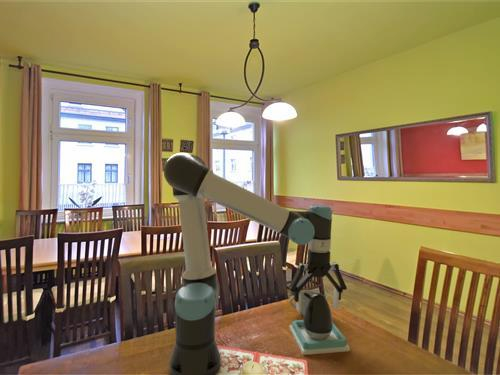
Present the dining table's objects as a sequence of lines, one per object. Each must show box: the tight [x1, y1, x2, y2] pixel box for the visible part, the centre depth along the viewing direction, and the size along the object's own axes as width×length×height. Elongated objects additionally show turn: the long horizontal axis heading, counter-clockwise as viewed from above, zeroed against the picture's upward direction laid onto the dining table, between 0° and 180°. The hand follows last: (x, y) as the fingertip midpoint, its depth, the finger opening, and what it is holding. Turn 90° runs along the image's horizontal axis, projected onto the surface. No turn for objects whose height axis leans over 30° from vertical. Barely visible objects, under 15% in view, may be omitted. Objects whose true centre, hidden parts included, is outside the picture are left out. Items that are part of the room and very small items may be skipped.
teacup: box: [289, 289, 319, 316], centre depth 120 cm, size 14×11×8 cm
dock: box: [288, 319, 351, 356], centre depth 102 cm, size 16×16×3 cm
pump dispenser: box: [302, 292, 334, 340], centre depth 101 cm, size 10×10×15 cm
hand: (317, 309), depth 101 cm, fingers open, 13 cm apart
